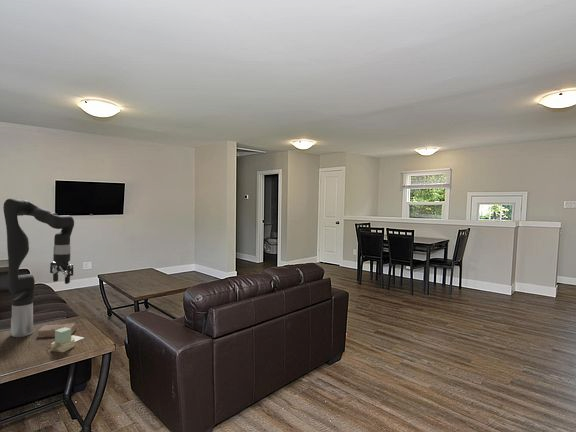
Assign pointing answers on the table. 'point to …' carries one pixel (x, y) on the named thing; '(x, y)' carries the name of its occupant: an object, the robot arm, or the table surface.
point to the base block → (62, 346)
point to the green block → (62, 335)
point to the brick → (50, 329)
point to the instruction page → (76, 338)
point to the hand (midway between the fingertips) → (61, 282)
